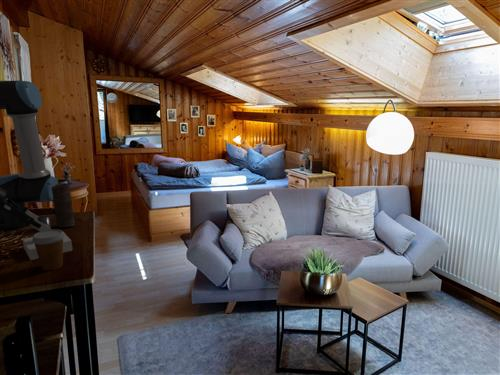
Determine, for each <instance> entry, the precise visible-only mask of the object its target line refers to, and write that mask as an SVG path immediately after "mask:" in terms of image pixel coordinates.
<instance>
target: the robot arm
mask: <svg viewBox="0 0 500 375" xmlns="http://www.w3.org/2000/svg"><path fill="white" fill-rule="evenodd" d="M42 103H43V100H42V95H41V92H40V90H39V88H38V87H37V86H36V85H35V83H33V82H32V81H29V80H0V110H5V112H6V115H7V117H10V118H11V119H12V120H11V121H12V124H13V129H14V135H15V138H16V142H17V147H18V152H19V154H20V155H19V156H20V160H21V164H22V168H23V171H22V173H21V174H20V173H12V174H6V175H2V176H0V230H10V229H17V228H21V227H24V226H26V227H29V226H30V227H31V228H33V229H36V230H37V231H38V232H39V231H45V230H50V229H51V230H52V227H51V228H50V227H48V226H47V225H45V224H43V223H41V222H40V221H38V219H37V218H38V217H39V216H38V215H37V214H35V213H34V212H31V211H30V210H28V209H29V207H27V206H26V203H46V202H47V203H48V202H52V201H53V194H52V187H53V186H55V185H56V184H59V182H58V179H57V177H55V176H53V175H51V171H50V170H48V169H47V168H46V164H45V158H44V153H43V149H42V144H41V140H40V133H39V130H38V124H37V120H36V116H37V115H38V114H39V110H40V109H41V108H42V105H43V104H42Z"/></svg>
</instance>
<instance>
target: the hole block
mask: <svg viewBox="0 0 500 375" xmlns="http://www.w3.org/2000/svg"><path fill="white" fill-rule="evenodd" d="M61 231H62V232H63V234H64V238H63V254H64V253H68V252H72V251H73V243H72V240H71V239H70V237H69V236H67V234H66V233H65V232H64V231H63V230H61ZM32 239H33V236H31V237H27V238H25V237H24V238H22V243H23V249H24V251H25V252H26V256H28V259H29V260H30V261H33V260H37V259H38V260H39V257H38V253H37V250H36V247H35V244H34V243H33V241H32Z"/></svg>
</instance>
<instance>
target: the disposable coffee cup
mask: <svg viewBox="0 0 500 375" xmlns="http://www.w3.org/2000/svg"><path fill="white" fill-rule="evenodd" d="M62 231H63V230H61V229H51V230H45V231H41V232H39V231H38V232H36V233H34V234H33V236H32V237H33V239H32V241H33V243H34V244H35V247H36V250H37V253H38V257H39V258H38V260H39V263H40V266H41V269H42V270H43V271H53V270H57V269H60V268H61V267H63V265H64V264H63V263H64V262H63V260H64V253H63V238H64V234H63V232H64V231H63V232H62Z"/></svg>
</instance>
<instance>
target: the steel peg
mask: <svg viewBox="0 0 500 375" xmlns="http://www.w3.org/2000/svg"><path fill="white" fill-rule="evenodd" d="M37 219H38V221H40V222H41V223H43V224H45V225H47V226H48V227H50V228H51V229H50V230H52V227H51V226H52V225H51V224H52V223H51V218H50V216H49V215H42V216H38V218H37ZM38 232H41V231H39V230H38Z"/></svg>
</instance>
